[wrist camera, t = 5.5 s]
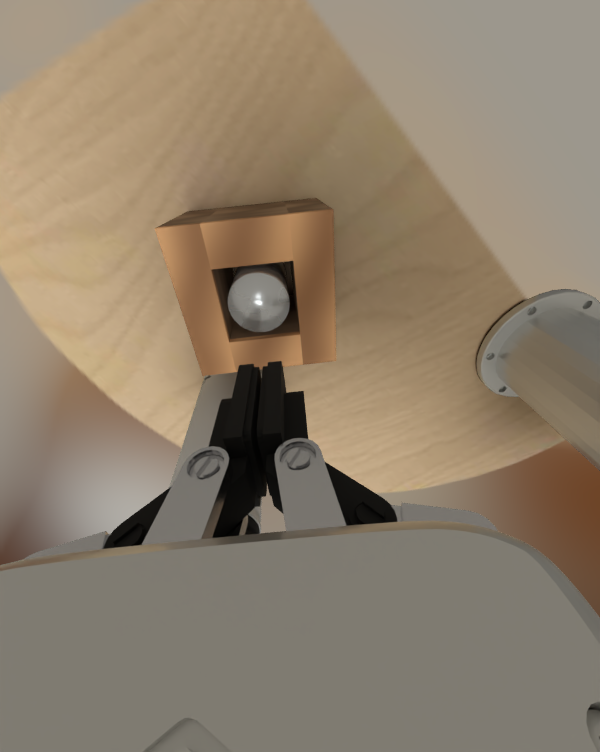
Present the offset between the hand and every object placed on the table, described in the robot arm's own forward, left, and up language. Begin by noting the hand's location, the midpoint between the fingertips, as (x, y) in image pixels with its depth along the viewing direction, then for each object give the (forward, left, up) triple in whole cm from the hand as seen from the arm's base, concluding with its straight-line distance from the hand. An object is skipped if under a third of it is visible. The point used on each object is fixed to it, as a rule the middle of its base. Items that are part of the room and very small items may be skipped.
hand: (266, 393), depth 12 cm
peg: (+1, 0, -17) cm, 17 cm away
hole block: (+1, 0, -17) cm, 17 cm away
